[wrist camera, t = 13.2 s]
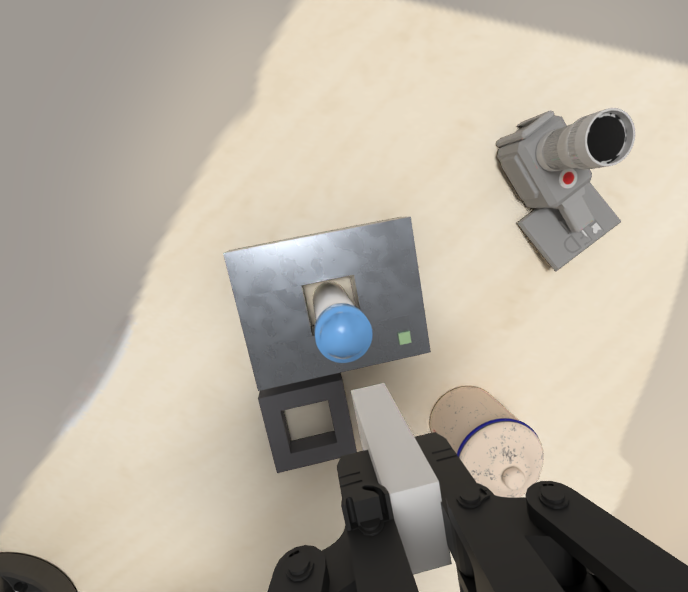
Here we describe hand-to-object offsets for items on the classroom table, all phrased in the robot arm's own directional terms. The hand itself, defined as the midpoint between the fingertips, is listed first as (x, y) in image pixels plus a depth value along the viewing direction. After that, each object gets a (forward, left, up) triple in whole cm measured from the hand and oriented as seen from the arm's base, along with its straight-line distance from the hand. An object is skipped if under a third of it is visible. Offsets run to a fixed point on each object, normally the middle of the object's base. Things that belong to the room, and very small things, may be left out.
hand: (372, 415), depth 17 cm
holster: (-5, -13, -26) cm, 29 cm away
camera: (+25, +7, -26) cm, 37 cm away
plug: (0, 0, -26) cm, 26 cm away
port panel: (0, 0, -26) cm, 26 cm away
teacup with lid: (+14, -19, -26) cm, 35 cm away
